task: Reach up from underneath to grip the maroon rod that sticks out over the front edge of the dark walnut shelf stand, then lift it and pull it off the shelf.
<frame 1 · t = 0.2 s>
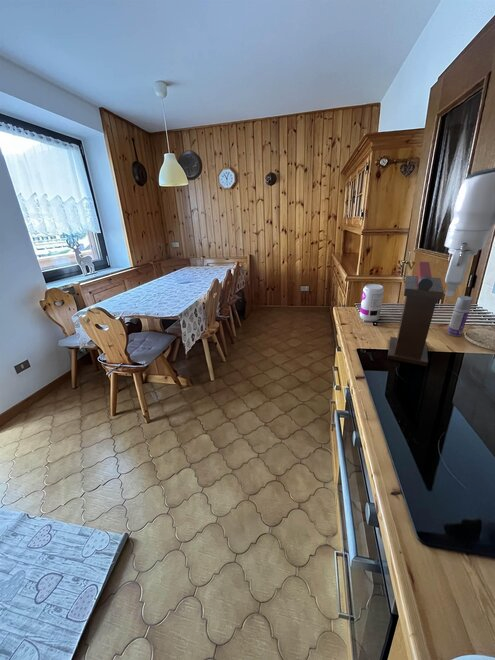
hand: (451, 290, 80), 27 cm above the counter, tool pointing down, fingers open, 8 cm apart
supplement can: (369, 318, 128), on the counter
maroon rod: (423, 283, 89), point 26 cm above the counter, touching shelf stand
shelf stand: (406, 352, 102), on the counter
container: (453, 334, 111), on the counter
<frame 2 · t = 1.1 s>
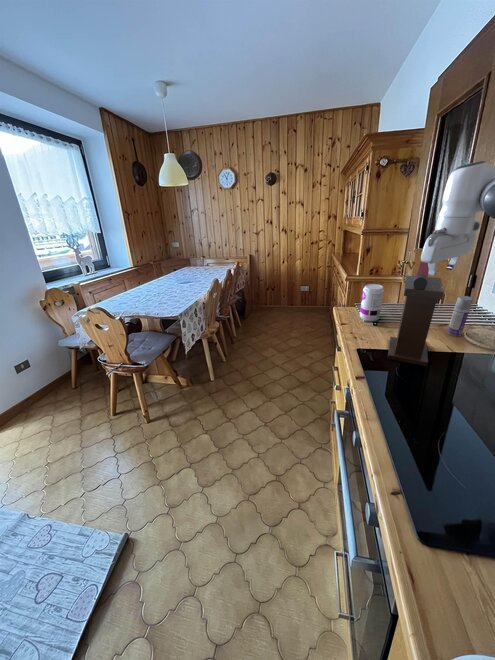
hand: (441, 272, 89), 29 cm above the counter, tool pointing down, fingers open, 8 cm apart
maroon rod: (420, 282, 90), point 26 cm above the counter, touching gripper, shelf stand
everything else where it was.
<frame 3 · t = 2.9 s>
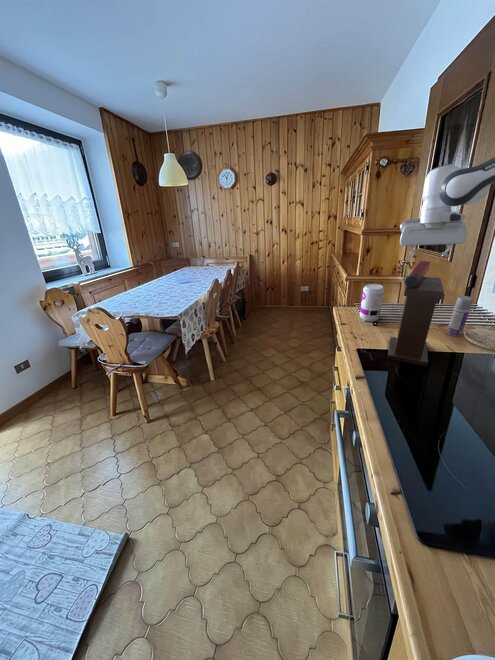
hand: (428, 257, 105), 29 cm above the counter, tool pointing down, fingers open, 8 cm apart
maroon rod: (415, 281, 92), point 26 cm above the counter, touching shelf stand
everything else where it was.
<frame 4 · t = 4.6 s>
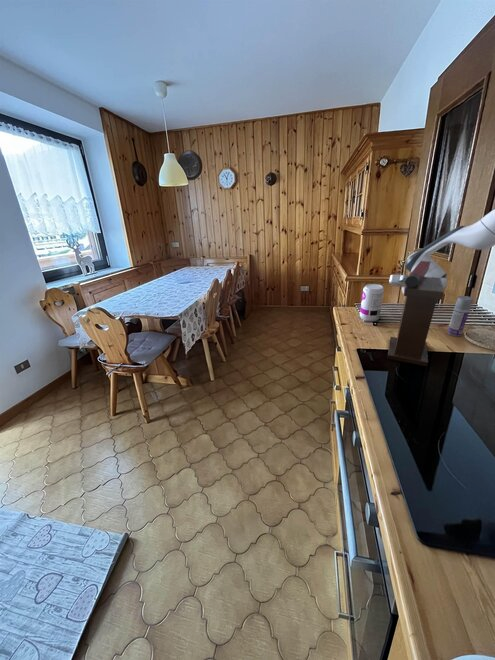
hand: (419, 277, 109), 21 cm above the counter, tool pointing upward, fingers open, 8 cm apart
nothing on the counter moved.
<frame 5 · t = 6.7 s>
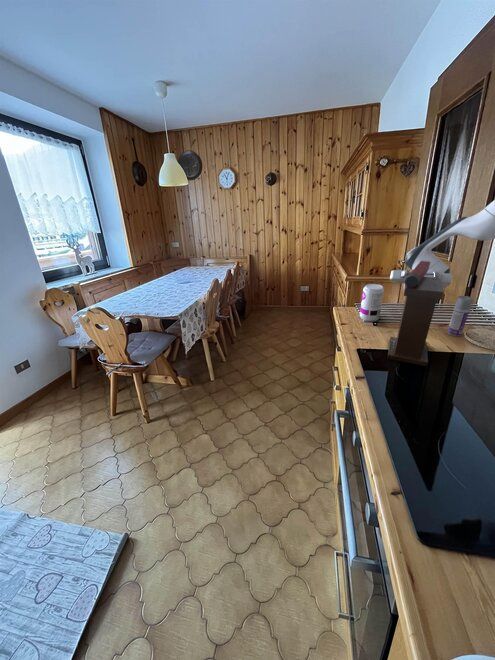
hand: (422, 273, 102), 25 cm above the counter, tool pointing upward, fingers open, 8 cm apart
nothing on the counter moved.
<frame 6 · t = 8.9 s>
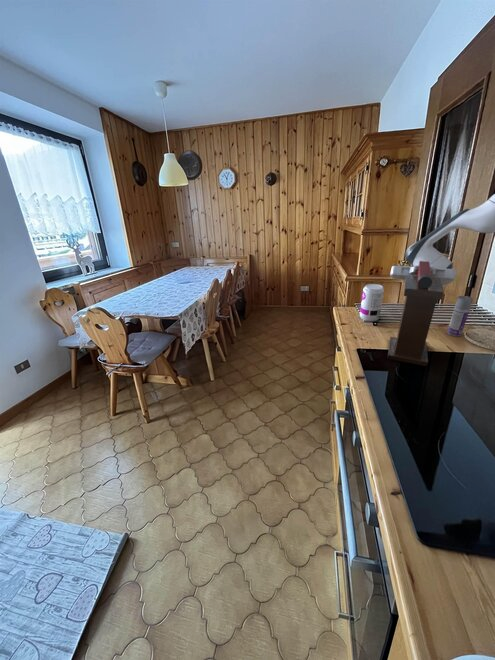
hand: (424, 268, 97), 28 cm above the counter, tool pointing upward, fingers closed on maroon rod, 3 cm apart
maroon rod: (423, 281, 90), point 26 cm above the counter, touching gripper
everything else where it was.
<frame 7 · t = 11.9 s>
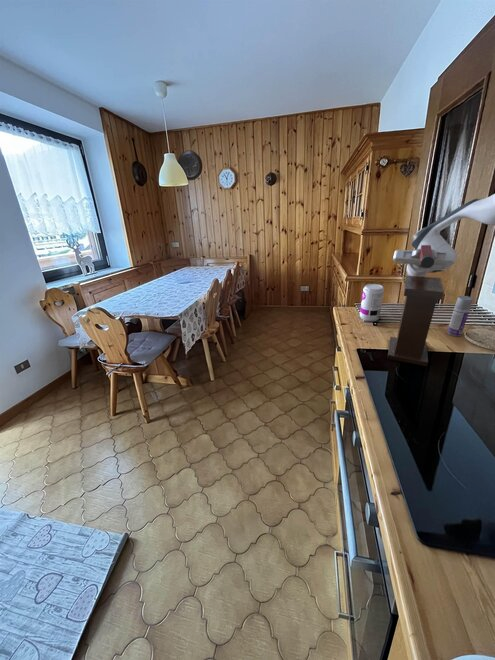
hand: (425, 251, 101), 32 cm above the counter, tool pointing upward, fingers closed on maroon rod, 3 cm apart
maroon rod: (425, 262, 95), point 30 cm above the counter, touching gripper
everything else where it was.
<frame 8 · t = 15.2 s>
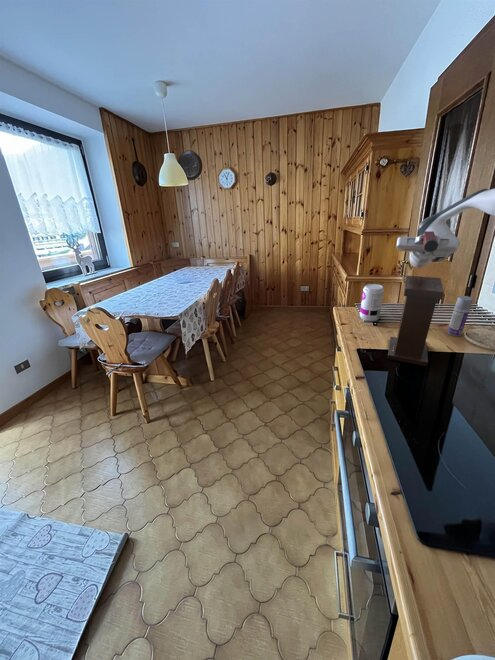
hand: (429, 237, 101), 36 cm above the counter, tool pointing upward, fingers closed on maroon rod, 3 cm apart
maroon rod: (428, 247, 95), point 34 cm above the counter, touching gripper
everything else where it was.
at the end: the gripper is holding maroon rod; maroon rod touching gripper; maroon rod moved 15.1 cm from its start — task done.
